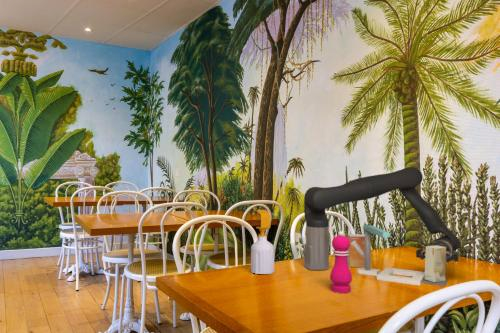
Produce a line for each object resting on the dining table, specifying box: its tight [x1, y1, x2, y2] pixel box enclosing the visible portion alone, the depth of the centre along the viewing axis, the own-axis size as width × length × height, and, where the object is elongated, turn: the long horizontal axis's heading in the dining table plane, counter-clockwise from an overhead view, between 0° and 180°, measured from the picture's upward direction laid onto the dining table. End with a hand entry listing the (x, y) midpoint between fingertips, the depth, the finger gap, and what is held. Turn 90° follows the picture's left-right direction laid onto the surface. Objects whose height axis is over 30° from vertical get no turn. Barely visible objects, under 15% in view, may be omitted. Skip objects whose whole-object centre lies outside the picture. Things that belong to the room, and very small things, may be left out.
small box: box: [347, 233, 365, 268], centre depth 179 cm, size 8×6×13 cm
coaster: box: [422, 279, 448, 287], centre depth 154 cm, size 7×7×1 cm
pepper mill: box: [329, 230, 353, 294], centre depth 143 cm, size 7×7×20 cm
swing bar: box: [362, 223, 390, 239], centre depth 158 cm, size 21×3×2 cm, turn 3°
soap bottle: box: [250, 209, 275, 275], centre depth 168 cm, size 9×9×25 cm
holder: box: [357, 230, 425, 286], centre depth 162 cm, size 24×15×17 cm, turn 58°
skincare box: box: [424, 245, 447, 282], centre depth 154 cm, size 6×4×12 cm
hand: (434, 258), depth 152 cm, fingers open, 8 cm apart
